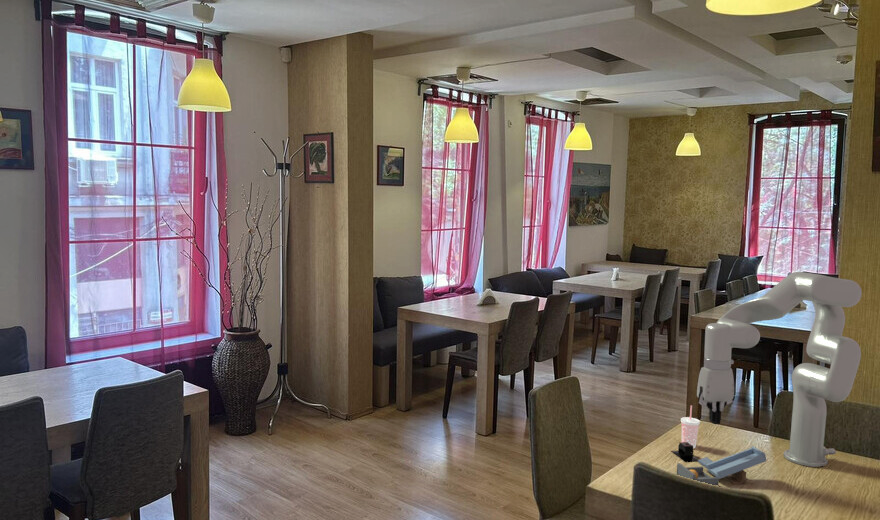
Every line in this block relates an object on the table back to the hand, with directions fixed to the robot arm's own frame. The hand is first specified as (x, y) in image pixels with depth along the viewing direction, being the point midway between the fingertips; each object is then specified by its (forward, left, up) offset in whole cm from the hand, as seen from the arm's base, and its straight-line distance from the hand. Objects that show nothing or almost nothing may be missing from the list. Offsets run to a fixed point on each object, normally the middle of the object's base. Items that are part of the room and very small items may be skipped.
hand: (714, 422), depth 206 cm
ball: (+11, +7, -13) cm, 19 cm away
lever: (-4, +4, -11) cm, 12 cm away
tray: (+9, +7, -15) cm, 19 cm away
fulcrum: (-3, +7, -15) cm, 17 cm away
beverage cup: (-4, -20, -15) cm, 26 cm away
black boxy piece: (+2, -12, -16) cm, 20 cm away
